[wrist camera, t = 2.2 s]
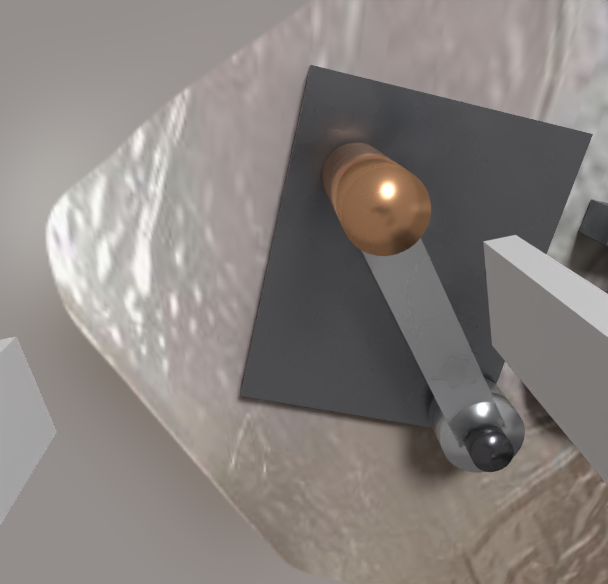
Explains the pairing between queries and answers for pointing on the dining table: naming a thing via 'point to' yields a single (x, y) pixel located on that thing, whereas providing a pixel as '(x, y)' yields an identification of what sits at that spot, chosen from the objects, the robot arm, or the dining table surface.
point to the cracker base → (437, 239)
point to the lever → (416, 293)
